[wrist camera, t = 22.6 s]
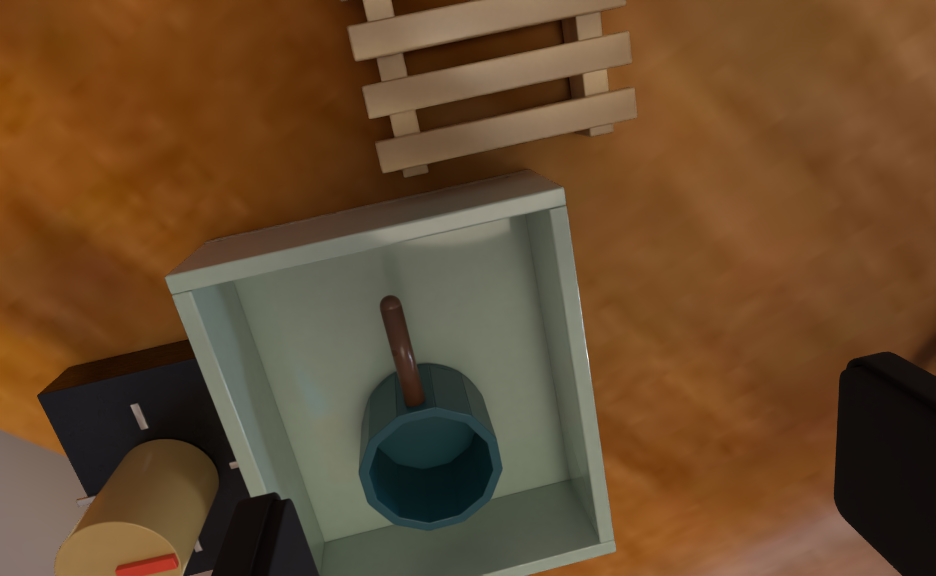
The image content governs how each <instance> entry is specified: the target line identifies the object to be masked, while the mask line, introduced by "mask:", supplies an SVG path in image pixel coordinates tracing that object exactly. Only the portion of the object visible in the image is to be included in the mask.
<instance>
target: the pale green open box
mask: <svg viewBox="0 0 936 576" xmlns="http://www.w3.org/2000/svg"><path fill="white" fill-rule="evenodd" d="M165 280H166V283H167V285H168V288H169V290H170V293H171V294H173V295H172V298H173V300H174V303H175V306H176V308H177V311H178V313H179V316H180V318H181V321H182V323H183V326H184V328H185V331H186V334H187V336H188V339H189V341H190V344H191V346H192V349H193V351H194V354H195V357H196V359H197V362H198V364H199V367H200V369H201V372H202V374H203V377H204V379H205V382H206V385H207V387H208V390H209V392H210V395H211V397H212V400H213V402H214V405H215V408H216V410H217V413H218V415H219V418H220V420H221V423H222V425H223V428H224V430H225V433H226V436H227V438H228V441H229V443H230V446H231V448H232V451H233V453H234V456H235V458H236V461H237V464H238V466H239V469H240V471H241V474H242V476H243V479H244V481H245V484H246V487H247V489H248V492H249V494H250V497H255V496H259V495H264V494H268V493H272V492H276V493H278V494H279V496H280V497H281V500H283V499H288V498H290V499H291V500H292V501H293V503H294V506H295V508H296V511H297V514H298V517H299V520H300V522H301V525H302V528H303V531H304V534H305V536H306V539H307V542H308V545H309V548H310V550H311V553H312V556H313V559H314V562H315V564H316V567H317V570H318V573H319V576H527V575H530V574H534V573H538V572H542V571H545V570H549V569H553V568H557V567H560V566H564V565H568V564H572V563H575V562H579V561H583V560H587V559H590V558H594V557H598V556H602V555H605V554H609V553H613V552H616V546H615V540H614V533H613V526H612V519H611V512H610V505H609V498H608V491H607V484H606V477H605V470H604V463H603V456H602V450H601V443H600V436H599V429H598V422H597V415H596V408H595V401H594V394H593V387H592V380H591V373H590V366H589V359H588V352H587V345H586V338H585V331H584V324H583V317H582V310H581V303H580V296H579V289H578V282H577V275H576V268H575V261H574V254H573V247H572V240H571V233H570V226H569V219H568V212H567V207H566V198H565V191H564V188H563V187H562V186H560V185H558V184H556V183H555V182H553V181H551V180H549V179H547V178H545V177H543V176H541V175H540V174H538V173H536V172H534V171H532V170H531V169H528V170H523V171H519V172H514V173H510V174H505V175H501V176H496V177H492V178H487V179H483V180H478V181H474V182H469V183H465V184H460V185H456V186H451V187H447V188H442V189H438V190H433V191H429V192H424V193H420V194H415V195H411V196H406V197H402V198H397V199H393V200H388V201H384V202H379V203H375V204H370V205H366V206H361V207H357V208H352V209H348V210H343V211H339V212H334V213H330V214H325V215H321V216H316V217H312V218H307V219H303V220H298V221H294V222H289V223H285V224H280V225H276V226H271V227H267V228H262V229H258V230H253V231H249V232H244V233H240V234H235V235H231V236H226V237H222V238H217V239H213V240H208V241H206V242H205V243H204V244H203V245H202V246H201V247H199V248H198V249H197V250H196V251H195V252H194V253H192V254H191V255H190V256H189V257H188V258H186V259H185V260H184V261H183V262H182V263H181V264H179V265H178V266H177V267H176V268H175V269H173V270H172V271H171V272H170V273H169V274H168V275H166V276H165ZM387 295H394V296H396V297H398V298H399V299H400V301H401V304H402V308H403V312H404V316H405V320H406V324H407V328H408V332H409V336H410V340H411V344H412V347H413V351H414V355H415V359H416V363H417V364H427V363H428V364H439V365H444V366H447V367H450V368H453V369H455V370H457V371H459V372H461V373H462V374H464V375H465V376H466V377H468V378H469V379H470V380H471V381H472V382H473V383H474V385H475V386H476V387H477V389H478V390H479V392H480V393H481V394H482V396H483V398H484V401H485V405H486V408H487V411H488V414H489V417H490V420H491V423H492V426H493V429H494V432H495V435H496V438H497V443H498V447H499V452H500V457H501V461H502V466H503V471H502V473H501V476H500V478H499V481H498V483H497V486H496V488H495V491H494V493H493V496H492V498H491V499H490V501H489V502H488V503H486V504H485V505H484V506H483V507H481V508H480V509H479V510H478V511H477V512H475V513H474V514H473V515H472V516H471V517H469V518H468V519H467V520H466V521H463V522H462V523H458V524H454V525H450V526H446V527H443V528H439V529H435V530H431V531H429V530H428V531H426V530H420V529H415V528H409V527H404V526H398V525H395V524H392V523H391V522H390V521H389V520H387V519H386V518H385V517H384V516H382V515H381V514H380V513H379V512H377V511H376V510H375V509H374V508H373V507H371V506H370V505H369V504H368V503H367V500H366V497H365V493H364V490H363V487H362V484H361V481H360V477H359V474H358V473H359V472H358V471H359V456H360V441H361V426H362V421H363V417H364V412H365V408H366V404H367V402H368V399H369V397H370V396H371V394H372V392H373V391H374V389H375V388H376V387H377V386H378V385H379V384H380V383H381V382H382V381H383V380H384V379H385V378H386V377H388V376H389V375H391V374H392V373H394V372H396V368H395V364H394V360H393V357H392V353H391V349H390V345H389V342H388V338H387V334H386V330H385V327H384V323H383V319H382V315H381V312H380V307H379V305H380V301H381V300H382V298H384V297H385V296H387Z"/></svg>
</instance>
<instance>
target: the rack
mask: <svg viewBox="0 0 936 576" xmlns="http://www.w3.org/2000/svg"><path fill="white" fill-rule="evenodd" d="M340 1H341V2H344V1H349V0H340ZM362 1H363V5H364V9H365V14H366V18H367V22H364V23H359V24H354V25H349V26H347V32H348V36H349V40H350V44H351V48H352V52H353V57H354V60H355V61H356V62H359V61H364V60H369V59H374V58H376V61H377V65H378V69H379V74H380V78H381V82H379V83H374V84H369V85H364V86H362V87H361V89H362V93H363V97H364V101H365V105H366V110H367V114H368V118H369V119H374V118H379V117H383V116H388V115H389V116H390V121H391V125H392V129H393V134H394V138H389V139H384V140H380V141H376V142H375V146H376V150H377V154H378V158H379V163H380V167H381V171H382V173H384V174H385V173H389V172H394V171H398V170H402V172H403V176H404V178H407V177H412V176H416V175H421V174H426V173H429V170H428V165H427V164H430V163H435V162H439V161H444V160H448V159H453V158H458V157H462V156H467V155H471V154H476V153H480V152H485V151H489V150H494V149H499V148H503V147H508V146H512V145H517V144H521V143H526V142H531V141H535V140H540V139H544V138H549V137H553V136H558V135H562V134H567V133H572V132H576V133H577V134H580V135H585V136H589V137H593V136H598V135H602V134H607V133H611V132H613V123H617V122H622V121H626V120H631V119H635V118H637V108H636V98H635V88H634V87H626V88H621V89H616V90H612V91H609V85H608V76H607V69H609V68H613V67H618V66H623V65H628V64H631V63H632V57H631V46H630V36H629V31H622V32H618V33H613V34H608V35H603V31H602V22H601V13H600V12H602V11H606V10H611V9H616V8H620V7H623V6H625V5H626V0H473V1H468V2H463V3H458V4H453V5H448V6H443V7H438V8H433V9H428V10H424V11H419V12H414V13H409V14H404V15H399V16H395V14H394V10H393V5H392V0H362ZM558 20H561V21H562V28H563V36H564V43H565V44H560V45H556V46H551V47H546V48H541V49H536V50H532V51H527V52H522V53H517V54H512V55H508V56H503V57H498V58H493V59H489V60H484V61H479V62H474V63H469V64H465V65H460V66H455V67H450V68H446V69H441V70H436V71H431V72H426V73H422V74H417V75H412V76H408V74H407V69H406V64H405V60H404V55H403V52H408V51H413V50H418V49H422V48H427V47H432V46H437V45H442V44H447V43H451V42H456V41H461V40H466V39H471V38H476V37H481V36H485V35H490V34H495V33H500V32H505V31H510V30H514V29H519V28H524V27H529V26H534V25H539V24H543V23H548V22H553V21H558ZM566 77H569V81H570V89H571V96H572V99H570V100H565V101H561V102H556V103H551V104H547V105H542V106H537V107H533V108H528V109H523V110H519V111H514V112H510V113H505V114H500V115H496V116H491V117H486V118H482V119H477V120H472V121H468V122H463V123H458V124H454V125H449V126H445V127H440V128H435V129H431V130H426V131H421V132H420V129H419V124H418V119H417V115H416V109H421V108H426V107H430V106H435V105H440V104H444V103H449V102H454V101H458V100H463V99H468V98H473V97H477V96H482V95H487V94H491V93H496V92H501V91H505V90H510V89H515V88H520V87H524V86H529V85H534V84H538V83H543V82H548V81H552V80H557V79H562V78H566Z"/></svg>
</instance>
